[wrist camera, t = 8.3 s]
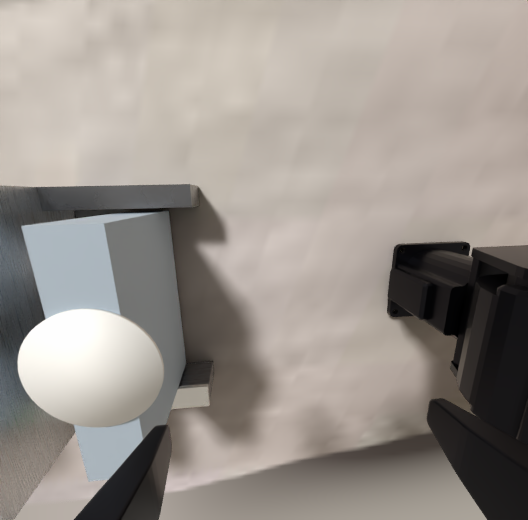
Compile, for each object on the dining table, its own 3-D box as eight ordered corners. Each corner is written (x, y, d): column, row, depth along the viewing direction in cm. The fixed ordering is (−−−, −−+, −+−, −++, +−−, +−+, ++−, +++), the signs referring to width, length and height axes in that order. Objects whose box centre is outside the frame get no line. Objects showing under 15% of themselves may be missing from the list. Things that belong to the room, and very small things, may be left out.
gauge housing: (197, 186, 19) (150, 175, 9) (214, 376, 23) (193, 510, 13) (39, 189, 18) (-203, 180, 8) (86, 386, 22) (-37, 537, 12)
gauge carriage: (189, 210, 19) (141, 222, 10) (205, 380, 22) (182, 502, 13) (104, 212, 18) (-28, 227, 9) (135, 385, 22) (62, 516, 13)
